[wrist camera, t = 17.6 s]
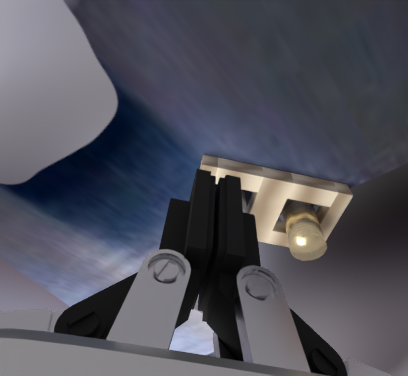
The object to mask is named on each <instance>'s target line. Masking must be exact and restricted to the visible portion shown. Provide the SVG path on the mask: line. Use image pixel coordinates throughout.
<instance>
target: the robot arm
mask: <svg viewBox="0 0 408 376" xmlns="http://www.w3.org/2000/svg"><path fill="white" fill-rule="evenodd" d="M215 185H216V176H212V175H211V171H207V170H202V169H197V170H196V174H195V179H194V183H193V187H192V191H191V196H190V200H189V202H188V201H183V200H178V199H173V198H171V199H170V203H169V208H168V212H167V217H166V221H165V226H164V230H163V235H162V239H161V243H160V248H159V250H157V251H154V252H152V253H150V254H149V255H147V257H146V258H145V260H144V261H143V263H142V265H141V267H140V269H139V272H137V273H135V274H133V275H131V276H129V277H127V278H126V279H124V280H122V281H120V282H118V283H116V284H114V285H112V286H110V287H108V288H106V289H104V290H102V291H100V292H98V293H96V294H94V295H92V296H90V297H88V298H86V299H84V300H82V301H80V302H78V303H76V304H75V305H73V306H71V307H69V308H68V309H67V310H65V311H64V312H52V309H36V310H15V311H0V376H392V375H390V374H387V373H385V372H382V371H380V370H377V369H375V368H372V367H370V366H367V365H365V364H362V363H360V362H357V361H355V360H352V359H350V358H348V359H347V360H346V361H345V360H343V359H341V357H340V356H339V355H338V354H337V352H336V351H335V350H334V349H333V348H332V347H331V346H330V345H329V344H328V343H327V342H326V341H324V340H323V339H322V338H321V337H320V336H319V335H318V334H317V333H316V332H315V331H314V330H313V329H312V328H311V327H310V326H309V325H307V324H306V323H305V322H304V321H303V320H302V319H301V318H300V317H299V316H298V315H297V314H296V313H295V312H294V311H292V310H291V309H290V308H289V305H288V303H287V300H286V297H285V293H284V290H283V288H282V285H281V283H280V281H279V279H278V278H277V277H276V276H275V275H274V274H273V273H272V272H271V271H269V270H268V269H265V268H263V267H261V265H260V256H259V247H258V238H257V230H256V221H255V216H254V214H249V213H244V212H243V207H242V192H241V179H240V177H236V176H231V175H226V176H225V178H222V177H220V178H219V181H218V184H217V188H216V191H215ZM198 294H199V300H198V310H199V311H203V320H202V321H205V322H207V324H208V325H209V326H210V327H211V329H212V330H213V331H214V333H213V344H214V353H215V357H212V356H205V355H199V354H193V353H186V352H180V351H174V350H169V347H170V344H171V341H172V337H173V334H174V330H175V329H176V328H177V327H178V326H180V325H181V324H183V323H184V322H186V321H187V320H188V318H189V315H190V311H191V309H194V306H195V303H196V300H197V297H198Z"/></svg>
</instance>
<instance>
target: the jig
mask: <svg viewBox="0 0 408 376" xmlns="http://www.w3.org/2000/svg"><path fill="white" fill-rule="evenodd" d="M200 169H202V170H207V171H211V175H212V176H216V184H218V181H219V178H220V177H222V178H225V176H226V175H231V176H236V177H240V179H241V192H242V207H243V212H244V213H249V214H254V216H255V221H256V230H257V238H258V241H260V242H265V243H270V244H275V245H281V246H286V247H289V242H288V237H287V233H286V228H285V224H284V222H282V221H277V220H278V217H279V215H280V213H281V211H282V209H283V207H284V204H285V202H286V200H287V199H292V200H297V201H302V202H307V203H312V204H317V205H320V207H319V209H318V211H317V213H316V216H317V218H318V221H319V224H320V227H321V230H322V233H323V236H324V238H325V241H326V239H327V238H328V236H329V235H330V233H331V231H332V230H333V228H334V226H335V225H336V223H337V221H338V220H339V218H340V217H341V215H342V213H343V212H344V210H345V208H346V207H347V205H348V203H349V202H350V200H351V199H352V196H353V195H352V192H351V190H350V189H349V187H348V185H347V184H342V183H338V182H333V181H328V180H323V179H319V178H314V177H309V176H304V175H299V174H295V173H290V172H285V171H280V170H276V169H271V168H266V167H261V166H256V165H252V164H247V163H242V162H237V161H233V160H228V159H223V158H218V157H213V156H209V155H204V154H203V157H202V161H201V166H200ZM245 190H248V191H253V192H252V195H251V198H250V200H249V203H248V206H247V207H246V195H245ZM215 191H216V189H215Z"/></svg>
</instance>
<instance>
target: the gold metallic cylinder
mask: <svg viewBox="0 0 408 376" xmlns="http://www.w3.org/2000/svg"><path fill="white" fill-rule="evenodd" d="M282 215H283V219H284V224H285V228H286V233H287V237H288V242H289V247H290V251H291V254H292V255H293V256H294V257H295V258H297V259H299V260H304V261H309V260H314V259H317V258H319V257H321V256H322V255H323V254H324V253H325V251H326V249H327V245H326V241H325V238H324V236H323V233H322V230H321V227H320V224H319V221H318V218H317V216H316V213H315V210H314V207H313V204H312V203H307V202H302V201H297V200H292V199H287V200H286V202H285V204H284V207H283V209H282Z"/></svg>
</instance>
